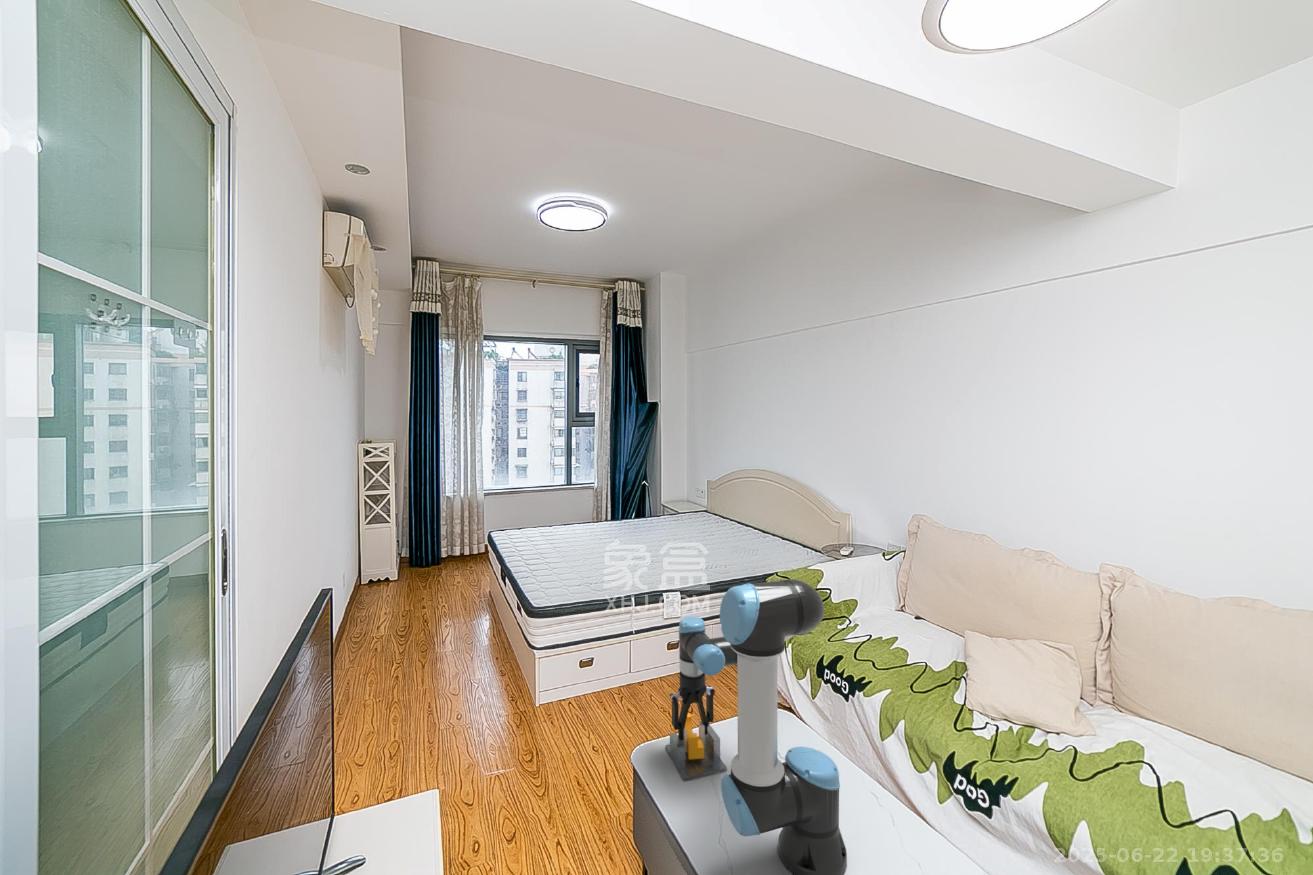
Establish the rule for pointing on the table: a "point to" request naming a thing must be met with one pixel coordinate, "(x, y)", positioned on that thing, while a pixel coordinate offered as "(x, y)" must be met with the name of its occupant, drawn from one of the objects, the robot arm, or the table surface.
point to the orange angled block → (693, 741)
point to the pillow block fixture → (696, 766)
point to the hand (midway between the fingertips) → (692, 746)
